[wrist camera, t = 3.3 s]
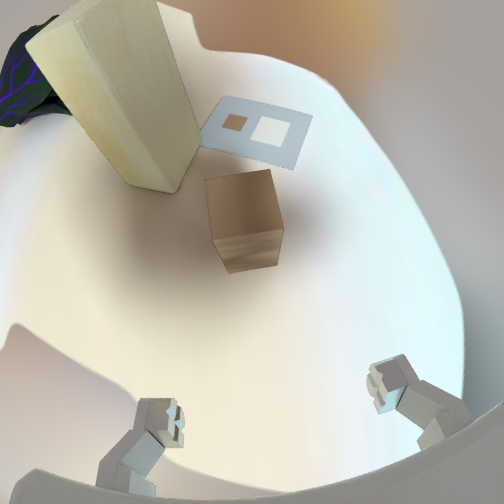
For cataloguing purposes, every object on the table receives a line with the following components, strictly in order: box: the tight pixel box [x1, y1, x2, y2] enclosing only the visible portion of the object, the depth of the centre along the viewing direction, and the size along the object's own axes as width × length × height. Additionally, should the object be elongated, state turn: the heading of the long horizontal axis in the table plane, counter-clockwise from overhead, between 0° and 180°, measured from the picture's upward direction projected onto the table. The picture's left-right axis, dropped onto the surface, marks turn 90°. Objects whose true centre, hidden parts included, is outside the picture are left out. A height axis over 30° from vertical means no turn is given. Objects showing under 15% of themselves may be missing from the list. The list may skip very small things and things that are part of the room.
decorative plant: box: [0, 15, 73, 127], centre depth 28 cm, size 21×26×30 cm
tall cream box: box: [25, 0, 202, 194], centre depth 20 cm, size 8×7×21 cm
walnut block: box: [205, 169, 284, 273], centre depth 22 cm, size 4×4×9 cm
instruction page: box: [199, 96, 313, 171], centre depth 31 cm, size 12×9×1 cm
